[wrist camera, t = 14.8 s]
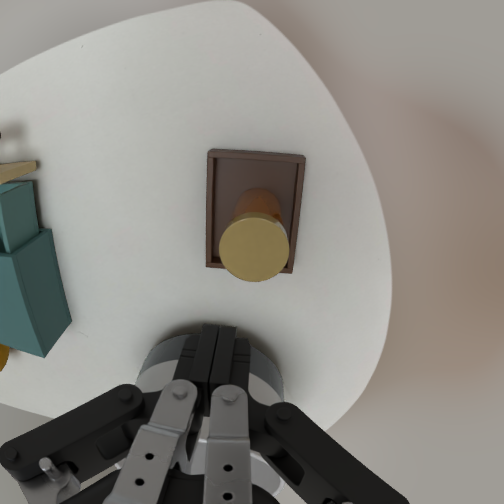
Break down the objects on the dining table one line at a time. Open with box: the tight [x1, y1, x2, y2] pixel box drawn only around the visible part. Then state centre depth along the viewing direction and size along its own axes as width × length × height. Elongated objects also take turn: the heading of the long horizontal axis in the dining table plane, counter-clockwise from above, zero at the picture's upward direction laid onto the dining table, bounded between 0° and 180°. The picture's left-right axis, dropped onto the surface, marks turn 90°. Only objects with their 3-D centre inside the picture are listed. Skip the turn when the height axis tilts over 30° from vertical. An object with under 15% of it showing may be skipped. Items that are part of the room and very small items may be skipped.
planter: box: [114, 334, 286, 497], centre depth 35 cm, size 19×19×18 cm
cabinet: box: [0, 228, 72, 358], centre depth 35 cm, size 15×13×9 cm
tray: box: [206, 149, 306, 274], centre depth 33 cm, size 12×9×2 cm
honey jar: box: [219, 188, 289, 282], centre depth 28 cm, size 5×5×10 cm
